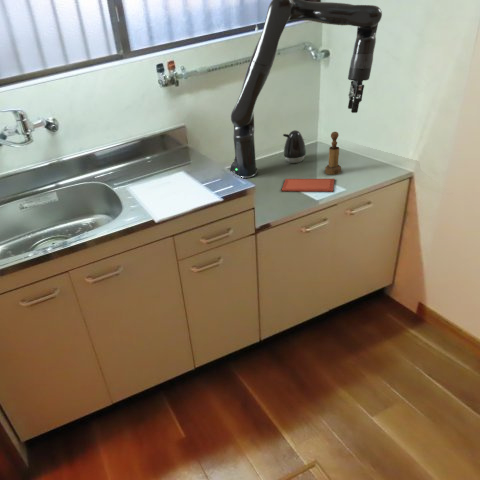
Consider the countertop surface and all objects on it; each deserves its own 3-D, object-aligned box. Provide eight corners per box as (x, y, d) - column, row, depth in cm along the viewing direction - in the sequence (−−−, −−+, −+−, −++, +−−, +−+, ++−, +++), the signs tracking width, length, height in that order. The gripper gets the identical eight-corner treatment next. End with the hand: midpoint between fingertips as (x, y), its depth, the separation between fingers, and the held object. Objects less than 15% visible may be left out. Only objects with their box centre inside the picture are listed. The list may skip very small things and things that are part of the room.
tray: (281, 191, 170) (281, 190, 169) (285, 180, 179) (285, 178, 179) (332, 192, 161) (332, 190, 161) (334, 179, 171) (334, 178, 170)
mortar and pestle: (342, 174, 174) (344, 133, 165) (326, 175, 176) (327, 135, 167) (339, 168, 179) (341, 128, 170) (324, 169, 181) (325, 130, 172)
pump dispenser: (281, 159, 201) (280, 129, 193) (302, 156, 199) (302, 125, 192) (286, 166, 192) (285, 135, 184) (308, 163, 191) (308, 131, 183)
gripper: (347, 65, 159) (339, 107, 167) (353, 68, 147) (344, 113, 154) (367, 64, 157) (359, 107, 165) (375, 68, 145) (366, 114, 153)
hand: (352, 110), depth 160 cm, fingers open, 8 cm apart
